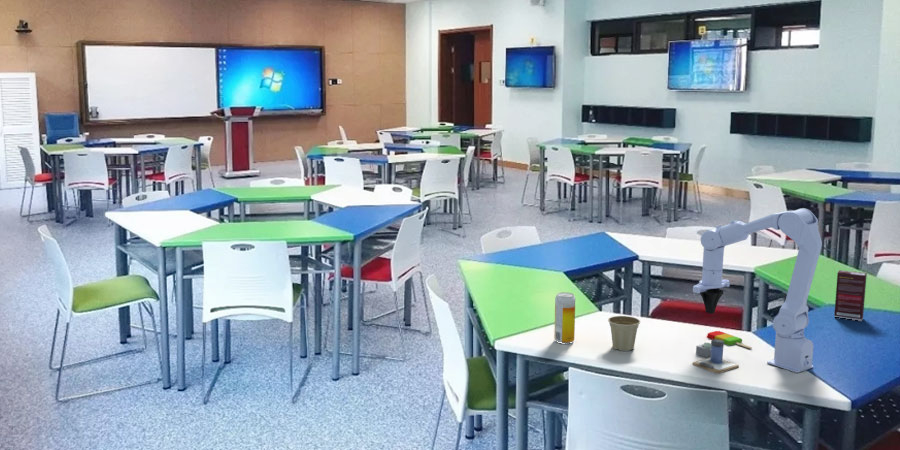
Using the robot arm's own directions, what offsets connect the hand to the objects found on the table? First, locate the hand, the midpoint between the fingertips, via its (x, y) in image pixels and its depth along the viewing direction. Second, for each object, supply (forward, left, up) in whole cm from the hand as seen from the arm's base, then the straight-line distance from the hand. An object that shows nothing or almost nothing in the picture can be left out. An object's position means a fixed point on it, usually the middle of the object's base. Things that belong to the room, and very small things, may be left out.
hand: (709, 312), depth 233 cm
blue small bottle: (-13, +12, -9) cm, 20 cm away
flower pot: (+12, +24, -10) cm, 29 cm away
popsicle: (-3, -7, -11) cm, 13 cm away
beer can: (+26, +35, -10) cm, 45 cm away
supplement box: (-9, -61, -10) cm, 62 cm away
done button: (-6, +8, -9) cm, 13 cm away
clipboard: (-13, +13, -10) cm, 21 cm away
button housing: (-6, +8, -10) cm, 14 cm away
